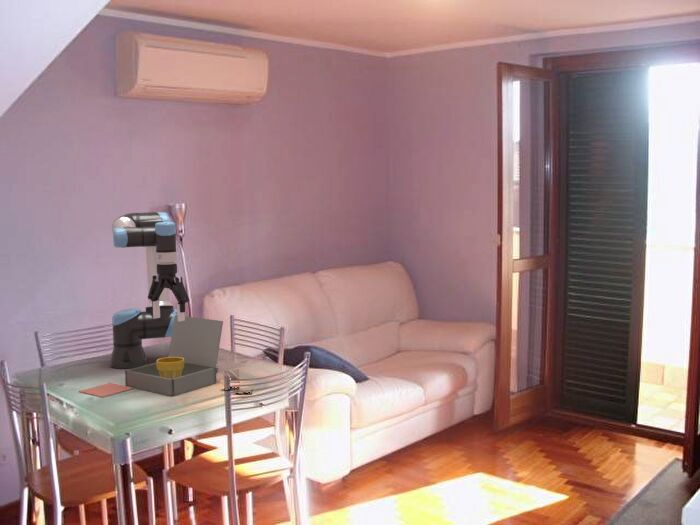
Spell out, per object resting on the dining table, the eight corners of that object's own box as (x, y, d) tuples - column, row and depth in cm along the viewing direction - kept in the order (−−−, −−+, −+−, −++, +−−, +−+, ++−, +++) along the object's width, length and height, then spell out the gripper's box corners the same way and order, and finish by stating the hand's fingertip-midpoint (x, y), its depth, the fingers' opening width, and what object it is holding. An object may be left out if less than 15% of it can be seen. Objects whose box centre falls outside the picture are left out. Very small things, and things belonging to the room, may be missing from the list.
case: (125, 386, 296) (122, 324, 294) (178, 371, 318) (176, 314, 315) (172, 396, 281) (169, 331, 279) (225, 380, 303) (223, 320, 300)
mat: (78, 392, 289) (78, 390, 289) (110, 383, 300) (110, 382, 300) (102, 397, 281) (102, 396, 281) (133, 388, 292) (133, 387, 292)
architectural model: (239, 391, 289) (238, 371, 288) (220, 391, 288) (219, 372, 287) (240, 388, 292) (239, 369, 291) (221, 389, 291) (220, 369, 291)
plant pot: (179, 379, 305) (178, 355, 304) (189, 385, 296) (188, 360, 295) (153, 383, 299) (152, 358, 298) (162, 389, 291) (161, 363, 290)
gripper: (136, 262, 297) (139, 318, 299) (182, 265, 283) (184, 323, 284) (152, 261, 303) (154, 315, 305) (197, 263, 289) (199, 320, 291)
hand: (168, 319), depth 295 cm, fingers open, 13 cm apart
